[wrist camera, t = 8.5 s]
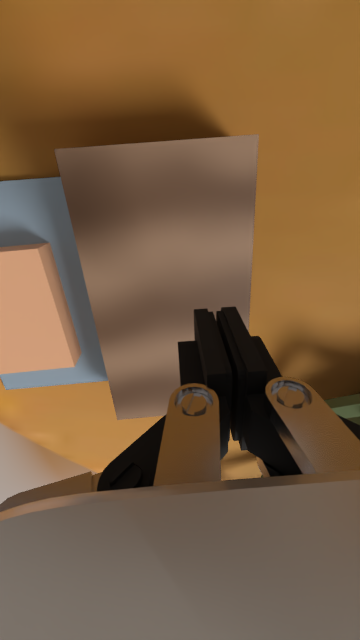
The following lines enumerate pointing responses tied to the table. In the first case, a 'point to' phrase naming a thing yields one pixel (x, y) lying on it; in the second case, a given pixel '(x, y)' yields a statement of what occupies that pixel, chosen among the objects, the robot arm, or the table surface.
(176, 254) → the plate
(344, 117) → the table surface
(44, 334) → the tan flat block
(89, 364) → the mat
